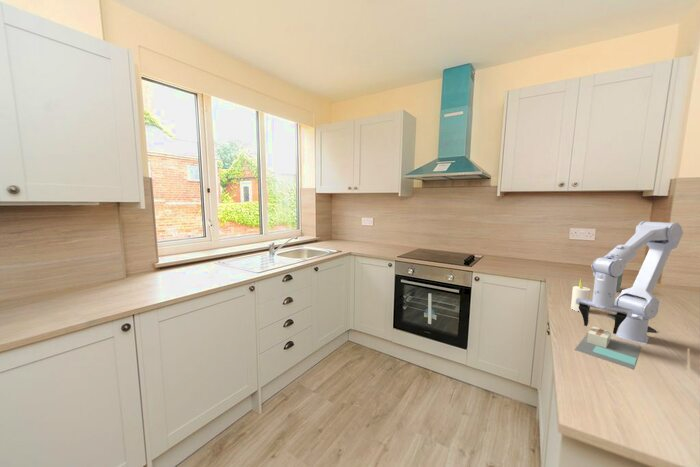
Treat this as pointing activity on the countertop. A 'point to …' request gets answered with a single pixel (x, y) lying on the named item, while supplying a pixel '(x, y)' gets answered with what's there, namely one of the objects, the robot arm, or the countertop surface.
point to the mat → (612, 352)
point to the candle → (579, 295)
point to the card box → (599, 337)
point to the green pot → (619, 282)
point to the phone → (647, 329)
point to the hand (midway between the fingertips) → (599, 328)
